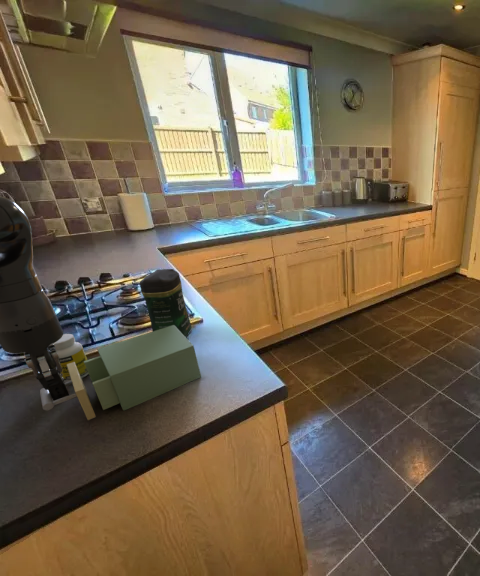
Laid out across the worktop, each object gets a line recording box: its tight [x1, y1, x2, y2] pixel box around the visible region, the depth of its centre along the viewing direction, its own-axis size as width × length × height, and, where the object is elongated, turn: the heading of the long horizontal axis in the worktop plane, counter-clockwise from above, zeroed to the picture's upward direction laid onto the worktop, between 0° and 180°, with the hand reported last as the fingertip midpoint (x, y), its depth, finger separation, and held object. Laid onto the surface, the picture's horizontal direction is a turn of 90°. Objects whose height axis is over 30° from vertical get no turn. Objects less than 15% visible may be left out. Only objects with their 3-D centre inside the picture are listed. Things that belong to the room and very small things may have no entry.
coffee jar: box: [139, 268, 192, 338], centre depth 87 cm, size 10×8×19 cm
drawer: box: [39, 355, 120, 421], centre depth 67 cm, size 18×11×7 cm, turn 137°
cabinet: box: [97, 325, 202, 411], centre depth 72 cm, size 15×13×9 cm
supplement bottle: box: [51, 333, 89, 383], centre depth 72 cm, size 5×5×10 cm
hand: (62, 398), depth 62 cm, fingers closed
